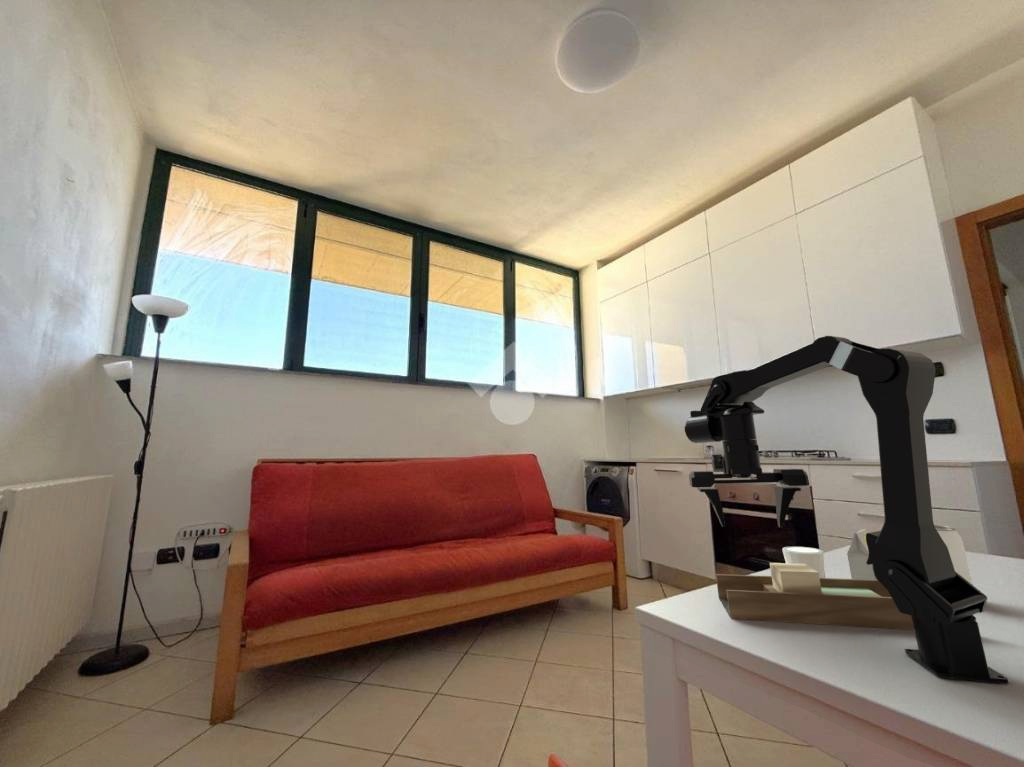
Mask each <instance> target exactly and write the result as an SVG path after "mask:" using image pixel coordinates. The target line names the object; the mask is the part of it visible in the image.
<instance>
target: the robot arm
mask: <svg viewBox="0 0 1024 767" xmlns="http://www.w3.org/2000/svg"><path fill="white" fill-rule="evenodd" d="M830 366H833V367H834V368H837V369H838V370H841V371H842V372H845V373H848V374H850V375H853V376H856V377H857V379H858V381H859V382H858V383H859V385H860V389H861V392H862V396H863V397H864V399H865V401H866V402H867V403H868V405H869V406H870V408H871V410H872V411H873V413H874V415H875V419H876V430H877V442H878V455H879V464H880V465H879V466H880V468H879V469H880V478H881V479H880V481H881V488H882V490H881V491H882V501H883V513H884V520H883V525H882V527H881V529H880V530H877V531H876V530H875V531H871V532H868V533H867V534H866V542H867V546H868V550H869V556H868V560H867V562H866V563H867V564H868V565H870V564H873V567H872V568H873V572H874V575H875V577H876V579H877V581H879V582H880V583H881V584H882V585H883V586H884V587H885V588H886V589H887V590H888V592H889V594H890V595H891V597H892V599H893V601H894V602H895V604H896V606H897V608H898V610H899V611H900V612H901V613H904V614H907V615H911V616H912V621H913V626H914V635H915V640H916V644H917V649H916V648H915V649H914V648H904V652H905V654H906V655H907V656H908V657H910V658H911V659H913V660H914V661H915V662H916V663H919V664H920V665H921V666H922V667H924V668H925V669H927V670H928V671H929V672H931V673H932V674H933V675H935V677H938V678H941V679H952V680H953V679H954V680H964V681H974V682H975V681H976V682H987V683H988V682H989V683H999V684H1009V683H1010V682H1009V678H1008V677H1006V676H1005V675H1003V674H1002V673H1000V672H998V671H997V670H995V669H993V668H991V667H990V666H988V662H987V658H986V653H985V652H986V651H985V649H984V645H983V640H982V636H981V632H980V628H979V623H978V620H977V618H976V616H974V615H976V614H980V613H981V614H982V613H983V612H984V611H985V610H986V609H985V608H986V606H987V601H988V597H987V595H985V594H984V593H983V592H982V591H981V590H980V589H978V588H977V587H975V586H974V584H973V585H972V584H970V583H969V582H968V581H967V580H965V579H964V578H963V577H962V576H960V575H959V574H958V573H957V572H955V570H954V567H953V563H952V560H951V557H950V554H949V551H948V548H947V546H946V544H945V543H944V541H943V540H942V538H941V536H940V535H939V533H938V532H937V530H936V528H935V526H934V525H935V523H934V518H933V506H932V496H931V488H930V487H931V486H930V477H929V465H928V455H927V454H928V453H927V444H926V432H925V425H924V424H925V423H924V416H925V412H926V410H927V408H928V405H929V403H930V401H931V399H932V397H933V394H934V387H935V386H934V385H935V380H936V379H935V378H936V369H937V368H936V366H935V363H934V361H933V360H932V359H931V358H930V357H928V356H926V355H924V354H923V353H920V352H916V351H912V350H905V349H896V348H877V347H873V346H871V345H870V346H869V345H866V344H862V343H858V342H855V341H852V340H850V339H849V338H846V337H842V336H833V335H823V336H820V337H818V338H816V339H815V340H814V341H813V342H810V343H807V344H805V345H803V346H800V347H799V348H797V349H794V350H792V351H789V352H787V353H785V354H782V355H780V356H778V357H775V358H774V359H771V360H769V361H767V362H764V363H761V364H759V365H757V366H755V367H753V368H749V369H744V370H737V371H736V370H735V371H730V372H726V373H723V374H719V375H716V376H714V377H713V378H712V380H711V383H710V386H709V389H708V391H707V394H706V396H705V398H704V401H703V402H702V405H701V408H700V410H691V411H689V412H690V417H689V418H687V420H686V422H685V426H684V433H685V436H686V438H687V439H688V441H690V442H692V443H694V444H702V443H717V442H719V443H720V442H721V443H722V448H723V449H722V450H723V455H722V453H721V454H711V458H710V459H711V465H712V466H711V468H712V470H692V471H690V472H689V473H688V480H689V486H690V487H691V488H697V490H698V492H700V493H704V494H705V496H706V497H707V499H708V500H709V502H710V503H711V505H712V508H713V510H714V512H715V514H716V516H717V518H718V520H719V524H720V525H721V527H723V528H725V527H726V521H725V516H724V511H723V507H722V502H721V498H720V497H721V496H720V493H719V489H718V488H716V487H715V486H716V484H760V483H761V484H762V483H763V484H765V483H769V484H770V483H775V484H776V485H773V486H772V487H773V491H774V495H775V509H776V513H775V514H776V521H777V526H778V528H781V529H783V527H784V524H785V522H786V517H787V515H788V511H789V507H790V504H791V503H792V500H793V498H794V496H795V494H796V492H802V488H801V487H803V486H804V487H806V486H807V487H808V486H810V481H809V479H810V478H809V475H808V473H807V471H805V470H804V469H802V468H773V471H772V472H763V468H762V466H761V460H760V453H759V452H760V450H759V449H760V447H759V444H758V440H757V433H756V425H755V420H754V416H755V415H763V414H764V413H765V410H764V409H763V408H762V407H760V406H758V405H757V404H755V403H754V401H755V400H757V399H759V398H761V397H762V396H763V395H764V393H766V391H768V390H770V389H772V388H774V387H776V386H780V385H782V384H785V383H788V382H789V381H790V382H791V381H793V380H795V379H798V378H801V377H803V376H806V375H808V374H811V373H814V372H817V371H820V370H822V369H824V368H828V367H830ZM752 475H754V476H752ZM755 475H756V476H755Z"/></svg>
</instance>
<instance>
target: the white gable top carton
mask: <svg viewBox="0 0 1024 767" xmlns="http://www.w3.org/2000/svg"><path fill="white" fill-rule="evenodd" d="M867 533H869V531H868V528H863V529H860V530H859V531H856V532H854V533H853V537H852V541H851V544H850V546H849V548H848V551H847V554H846V555H847V561H848V566H849V572H850V576H851V579H865V580H877V579H876V577H875V575H874V572H873V568H872V567H873V564H870V565H868V564H867V563H866V562H867V560H868V556H869V550H868V546H867V542H866V534H867Z"/></svg>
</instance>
